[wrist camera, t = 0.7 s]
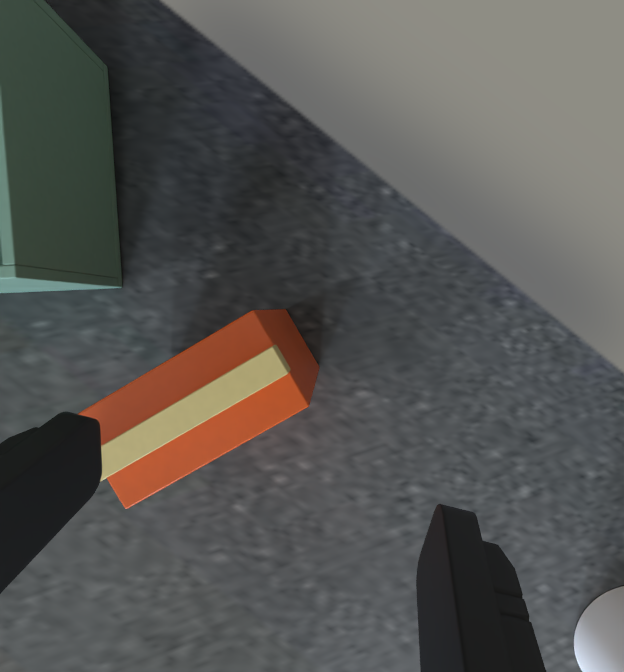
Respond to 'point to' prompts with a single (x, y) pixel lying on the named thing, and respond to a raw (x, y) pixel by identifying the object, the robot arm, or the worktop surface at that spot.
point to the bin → (54, 157)
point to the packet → (203, 403)
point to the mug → (601, 634)
